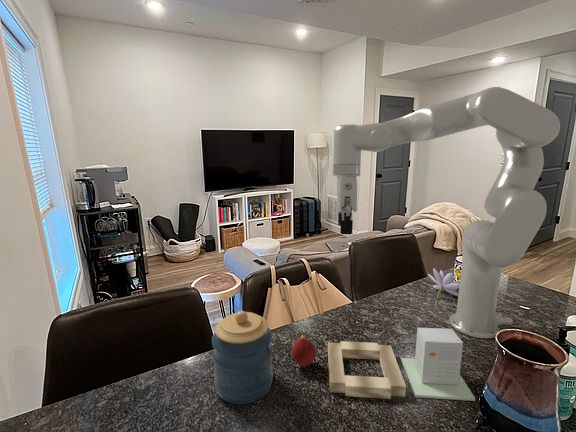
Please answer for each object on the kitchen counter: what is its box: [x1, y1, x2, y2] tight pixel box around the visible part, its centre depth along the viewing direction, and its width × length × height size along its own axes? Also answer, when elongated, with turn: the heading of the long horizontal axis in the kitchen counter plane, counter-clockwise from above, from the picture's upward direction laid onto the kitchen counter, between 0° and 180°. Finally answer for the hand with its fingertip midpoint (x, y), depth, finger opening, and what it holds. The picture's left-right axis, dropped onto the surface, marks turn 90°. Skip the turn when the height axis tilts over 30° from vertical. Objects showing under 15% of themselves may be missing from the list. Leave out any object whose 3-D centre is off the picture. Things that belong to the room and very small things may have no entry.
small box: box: [414, 327, 464, 385], centre depth 71 cm, size 8×6×10 cm
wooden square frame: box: [327, 340, 407, 400], centre depth 74 cm, size 16×16×2 cm
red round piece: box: [290, 334, 317, 367], centre depth 76 cm, size 6×6×8 cm
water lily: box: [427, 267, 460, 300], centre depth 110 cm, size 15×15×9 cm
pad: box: [400, 357, 476, 402], centre depth 72 cm, size 12×12×1 cm
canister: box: [211, 310, 274, 405], centre depth 69 cm, size 13×13×18 cm
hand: (344, 229), depth 92 cm, fingers open, 9 cm apart
